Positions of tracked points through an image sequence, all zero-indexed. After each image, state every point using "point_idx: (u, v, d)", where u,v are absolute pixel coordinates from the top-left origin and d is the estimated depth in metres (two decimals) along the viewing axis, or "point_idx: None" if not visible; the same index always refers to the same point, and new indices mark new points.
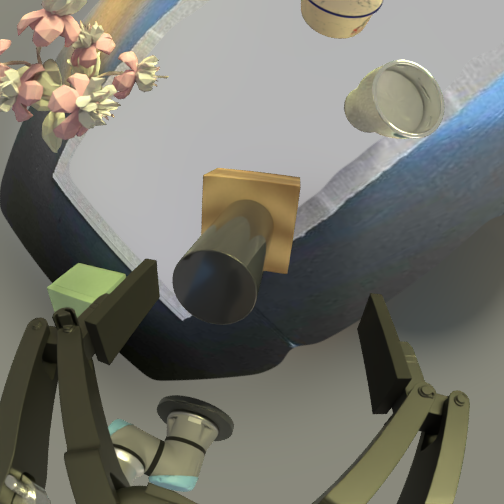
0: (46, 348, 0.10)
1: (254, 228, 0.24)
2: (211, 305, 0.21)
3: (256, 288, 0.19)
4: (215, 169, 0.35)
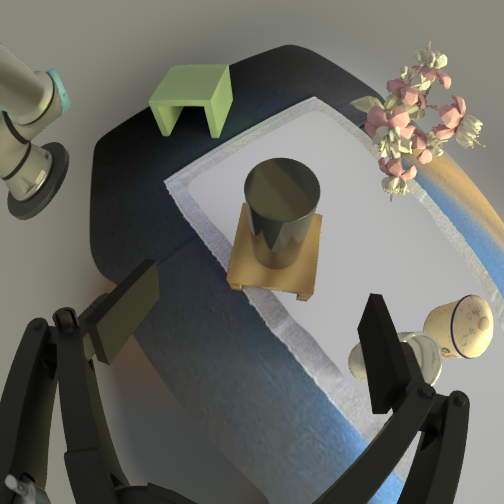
0: (46, 348, 0.10)
1: (302, 240, 0.28)
2: (266, 184, 0.23)
3: (285, 222, 0.22)
4: None
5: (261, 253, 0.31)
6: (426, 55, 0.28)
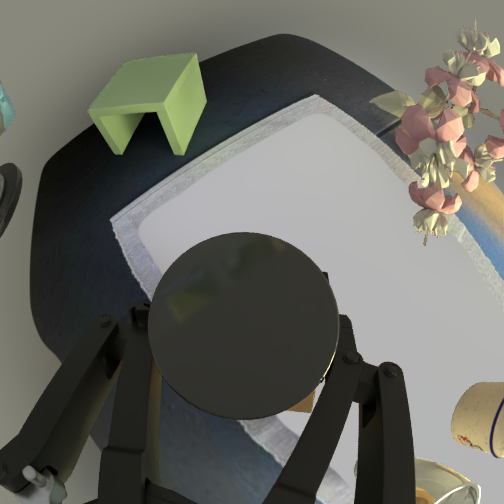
0: (116, 345, 0.11)
1: None
2: (199, 314, 0.09)
3: (245, 418, 0.08)
4: None
5: None
6: (474, 37, 0.15)
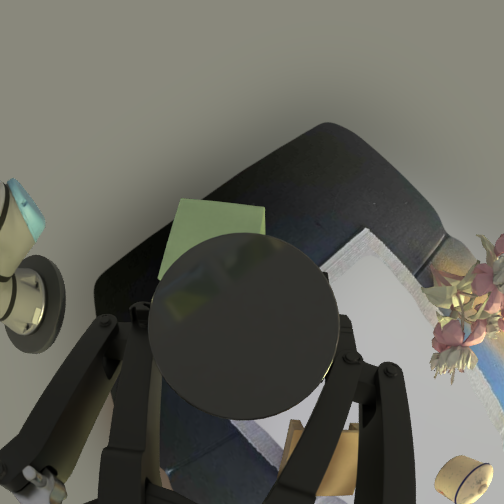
0: (116, 345, 0.11)
1: None
2: (199, 314, 0.09)
3: (245, 419, 0.08)
4: None
5: None
6: None
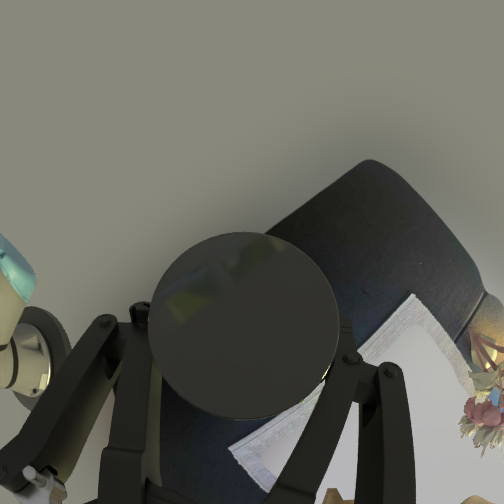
0: (116, 345, 0.11)
1: None
2: (199, 314, 0.09)
3: (245, 418, 0.08)
4: None
5: None
6: None
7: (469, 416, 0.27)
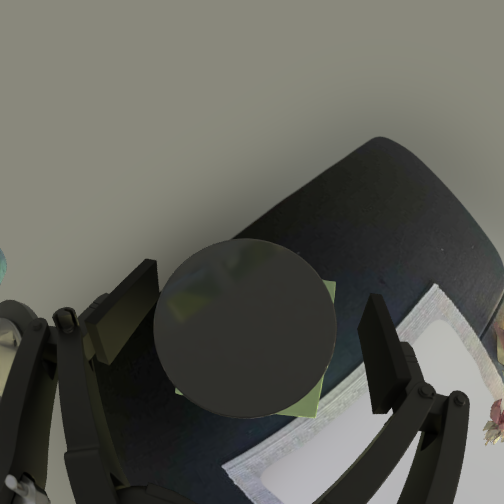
0: (46, 348, 0.10)
1: None
2: (202, 317, 0.09)
3: (246, 417, 0.08)
4: None
5: None
6: None
7: (496, 421, 0.20)
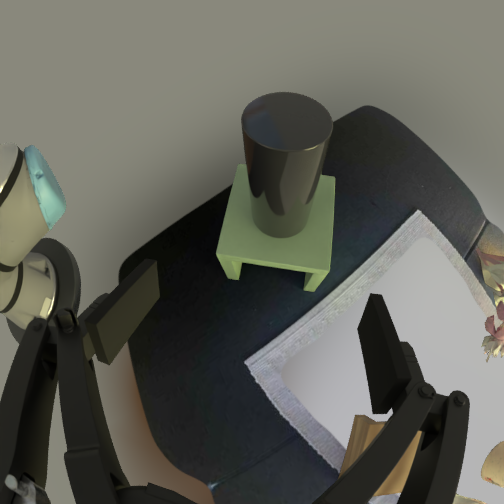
0: (46, 348, 0.10)
1: (312, 192, 0.23)
2: (267, 115, 0.18)
3: (293, 152, 0.17)
4: None
5: (263, 213, 0.26)
6: None
7: (492, 330, 0.29)
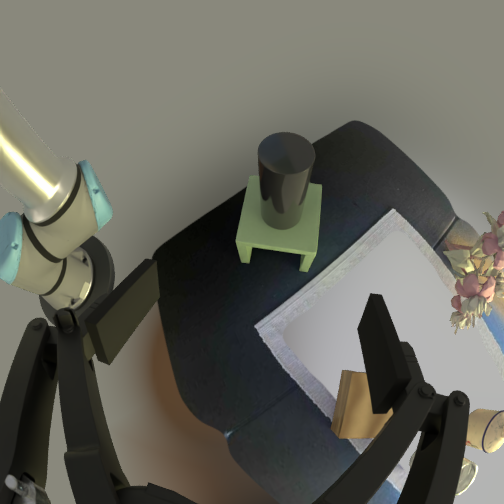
0: (46, 348, 0.10)
1: (302, 198, 0.35)
2: (274, 149, 0.30)
3: (289, 175, 0.28)
4: None
5: (269, 212, 0.38)
6: None
7: (456, 306, 0.41)
